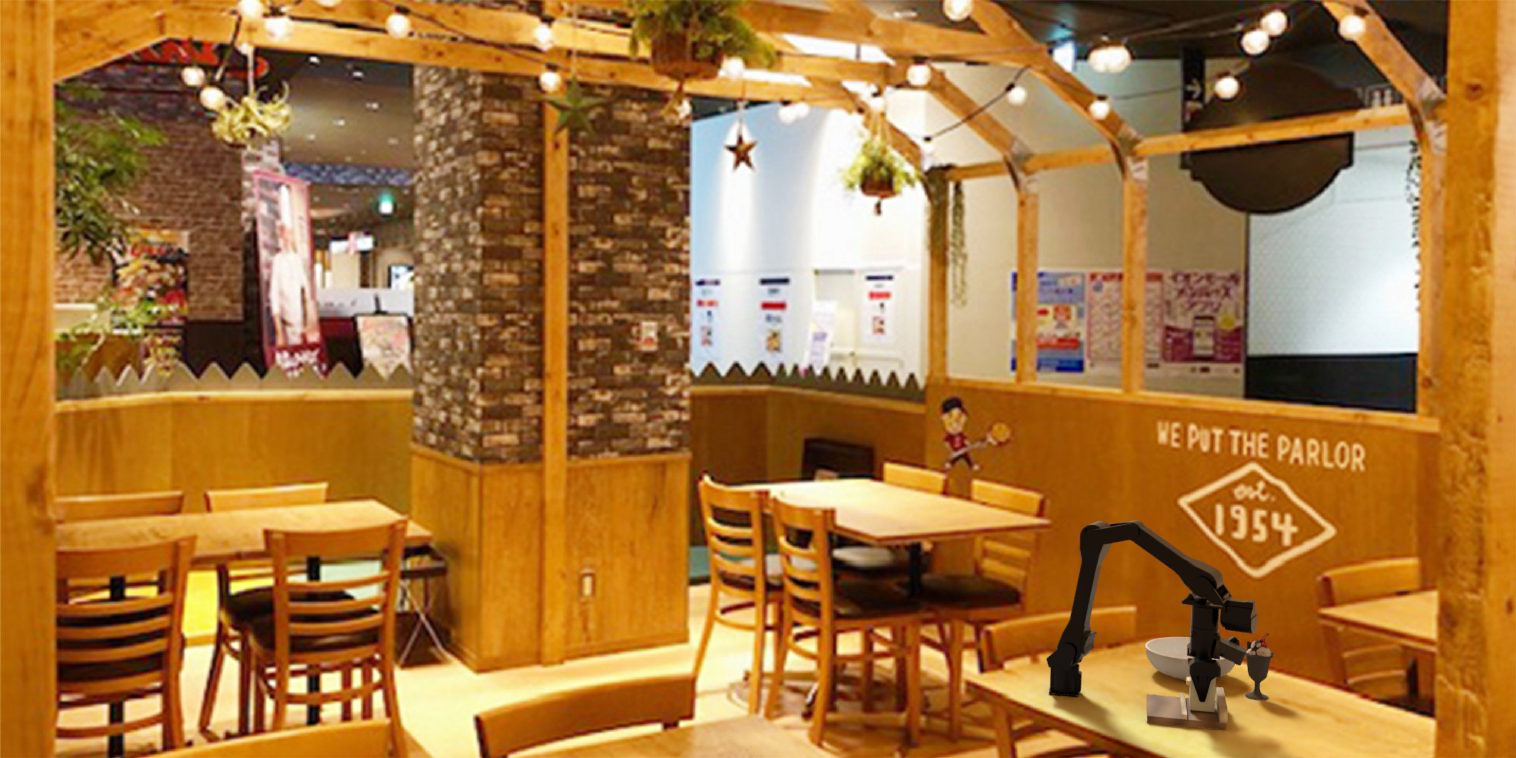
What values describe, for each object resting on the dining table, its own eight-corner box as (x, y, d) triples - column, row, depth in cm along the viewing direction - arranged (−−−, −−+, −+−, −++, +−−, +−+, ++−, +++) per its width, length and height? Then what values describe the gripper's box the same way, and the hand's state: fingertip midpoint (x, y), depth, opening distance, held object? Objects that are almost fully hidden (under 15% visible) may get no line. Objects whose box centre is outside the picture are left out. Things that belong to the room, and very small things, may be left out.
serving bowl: (1161, 659, 340) (1162, 631, 339) (1247, 674, 327) (1249, 645, 327) (1131, 677, 323) (1132, 649, 322) (1220, 694, 311) (1221, 664, 310)
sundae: (1275, 702, 305) (1278, 636, 304) (1243, 700, 306) (1246, 634, 305) (1270, 693, 311) (1273, 628, 310) (1239, 691, 313) (1241, 626, 312)
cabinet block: (1185, 709, 292) (1187, 672, 292) (1185, 702, 297) (1186, 666, 297) (1214, 712, 291) (1215, 675, 290) (1213, 705, 296) (1214, 668, 295)
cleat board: (1146, 722, 289) (1147, 701, 289) (1146, 700, 305) (1147, 680, 304) (1226, 730, 285) (1227, 709, 285) (1222, 707, 300) (1223, 687, 300)
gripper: (1247, 640, 282) (1244, 715, 283) (1241, 619, 299) (1238, 689, 301) (1191, 636, 284) (1188, 709, 286) (1188, 615, 302) (1185, 684, 304)
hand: (1201, 698), depth 294 cm, fingers closed on cabinet block, 5 cm apart
